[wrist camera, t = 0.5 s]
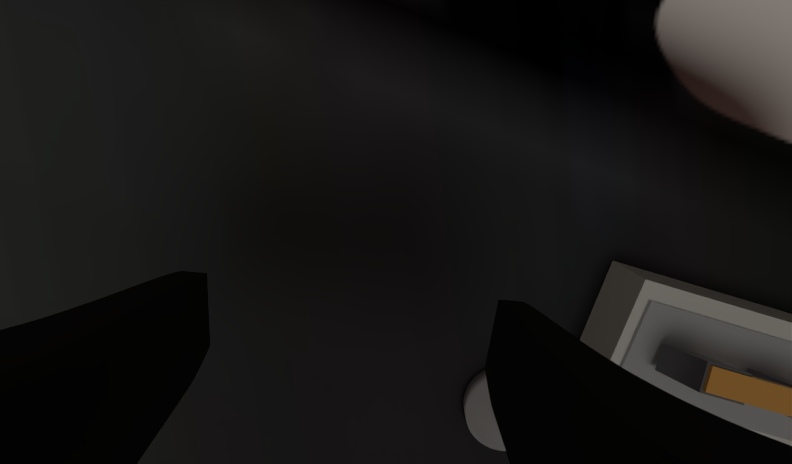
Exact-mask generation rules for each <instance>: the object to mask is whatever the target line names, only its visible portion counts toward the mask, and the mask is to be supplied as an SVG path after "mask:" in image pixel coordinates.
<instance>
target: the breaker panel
mask: <svg viewBox="0 0 792 464" xmlns="http://www.w3.org/2000/svg"><path fill="white" fill-rule="evenodd" d="M580 341H582V342H583V343H585V344H586V345H588V346H589V347H591V348H592V349H594V350H595V351H597V352H598V353H600V354H601V355H603V356H605V357H606V358H608V359H609V360H611V361H613V362H614V363H616V364H617V365H619V366H621V367H622V368H624V369H625V370H627V371H629V372H631V373H632V374H634V375H636V376H638V377H639V378H641V379H643V380H645V381H647V382H649V383H651V384H652V385H654V386H656V387H658V388H660V389H662V390H664V391H665V392H667V393H669V394H671V395H673V396H675V397H677V398H679V399H681V400H683V401H685V402H688V403H690V404H692V405H694V406H696V407H698V408H701V409H703V410H705V411H707V412H709V413H712V414H714V415H716V416H718V417H721V418H723V419H725V420H727V421H730V422H732V423H734V424H737V425H739V426H742V427H744V428H746V429H749V430H751V431H754V432H756V433H759V434H761V435H764V436H767V437H769V438H772V439H775V440H777V441H780V442H782V443H785V444H788V445H790V446H792V418H791V417H788V416H786V415H783V414H780V413H776V412H773V411H769V410H766V409H762V408H759V407H756V406H752V405H749V404H745V403H744V405H741V404H738V403H734V402H731V401H727V400H724V399H720V398H717V397H713V396H710V395H706V394H703V393H699V392H697V391H695V390H693V389H691V388H689V387H687V386H685V385H683V384H682V383H680V382H678V381H676V380H674V379H672V378H670V377H668V376H666V375H664V374H662V373H660V372H658V371H656V370H655V367H656V364H657V361H658V357H659V354H660V350H661V347H662V343H663V344H667V345H670V346H673V347H677V348H680V349H684V350H687V351H691V352H694V353H697V354H701V355H704V356H706V357H709V358H711V359H714V360H716V361H719V362H722V363H724V364H727V365H729V366H732V367H735V368H737V369H740V370H742V371H745V372H747V369H748V368H749V369H752V370H756V371H759V372H763V373H766V374H770V375H773V376H777V377H780V378H783V379H787V380H789V381H792V314H790V313H787V312H784V311H780V310H777V309H774V308H770V307H767V306H763V305H760V304H757V303H753V302H750V301H747V300H743V299H740V298H737V297H733V296H730V295H727V294H723V293H720V292H716V291H713V290H710V289H706V288H703V287H700V286H696V285H693V284H690V283H686V282H683V281H680V280H676V279H673V278H669V277H666V276H663V275H659V274H656V273H653V272H649V271H646V270H643V269H639V268H636V267H633V266H629V265H626V264H623V263H619V262H616V261H612V263H611V266H610V268H609V271H608V273H607V275H606V278H605V280H604V283H603V285H602V287H601V290H600V292H599V295H598V297H597V299H596V302H595V304H594V307H593V309H592V311H591V314H590V316H589V319H588V321H587V323H586V326H585V328H584V331H583V333H582V335H581V338H580Z"/></svg>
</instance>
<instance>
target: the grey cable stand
mask: <svg viewBox="0 0 792 464" xmlns="http://www.w3.org/2000/svg"><path fill="white" fill-rule="evenodd" d="M463 407H464V413H465V417H466V422H467V425H468V428H469V430H470V432H471V433H472V435H473V436H474V437H475V438H476V439H477V440H478V441H479V442H480V443H482V444H483V445H485V446H487V447H489V448H492V449H495V450H500V451H506V449H505V446H504V443H503V440H502V437H501V434H500V431H499V428H498V425H497V422H496V419H495V416H494V412H493V409H492V406H491V401H490V396H489V391H488V385H487V379H486V373H485V370H484V371H482V372H480V373H479V374H478V375H476V376H475V377H474V378H473V379H472V380H471V382H470V383H469V385H468V386H467V388H466V391H465V394H464V398H463Z"/></svg>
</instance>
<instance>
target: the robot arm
mask: <svg viewBox="0 0 792 464" xmlns="http://www.w3.org/2000/svg"><path fill="white" fill-rule="evenodd" d="M209 347H210V334H209V313H208V291H207V273H197V272H186V271H180V272H175V273H171V274H168V275H165V276H162V277H159V278H156V279H153V280H150V281H147V282H145V283H142V284H139V285H136V286H134V287H131V288H128V289H126V290H123V291H120V292H117V293H115V294H112V295H109V296H107V297H104V298H101V299H98V300H95V301H92V302H90V303H87V304H84V305H81V306H78V307H75V308H72V309H69V310H66V311H63V312H60V313H57V314H54V315H51V316H48V317H45V318H41V319H38V320H35V321H31V322H28V323H24V324H21V325H17V326H14V327H10V328H6V329H2V330H0V464H137V463H138V461H139V460H140V458H141V457H142V455H143V454H144V452H145V451H146V450H147V448H148V447H149V445H150V444H151V442H152V441H153V439H154V438H155V436H156V435H157V433H158V432H159V431H160V429H161V428H162V426H163V425H164V423H165V422H166V420H167V419H168V417H169V416H170V414H171V413H172V411H173V410H174V409H175V407H176V406H177V404H178V403H179V401H180V400H181V398H182V397H183V395H184V394H185V392H186V391H187V389H188V388H189V386H190V384H191V383H192V381H193V380H194V378H195V376H196V374H197V372H198V370H199V368H200V366H201V364H202V362H203V360H204V357H205V355H206V353H207V351H208V349H209ZM485 373H486V379H487V385H488V391H489V396H490V401H491V406H492V409H493V412H494V416H495V419H496V422H497V425H498V428H499V431H500V434H501V437H502V440H503V443H504V446H505V449H506V453H507V456H508V459H509V462H510V464H792V446H790V445H788V444H785V443H782V442H780V441H777V440H775V439H772V438H769V437H767V436H764V435H761V434H759V433H756V432H754V431H751V430H749V429H746V428H744V427H742V426H739V425H737V424H734V423H732V422H730V421H727V420H725V419H723V418H721V417H718V416H716V415H714V414H712V413H709V412H707V411H705V410H703V409H701V408H698V407H696V406H694V405H692V404H690V403H688V402H685V401H683V400H681V399H679V398H677V397H675V396H673V395H671V394H669V393H667V392H665V391H664V390H662V389H660V388H658V387H656V386H654V385H652V384H651V383H649V382H647V381H645V380H643V379H641V378H639V377H638V376H636V375H634V374H632V373H631V372H629V371H627V370H625V369H624V368H622V367H621V366H619V365H617V364H616V363H614V362H613V361H611V360H609V359H608V358H606V357H605V356H603V355H601V354H600V353H598V352H597V351H595V350H594V349H592V348H591V347H589V346H588V345H586V344H585V343H583V342H582V341H580V340H579V339H577V338H576V337H575V336H573V335H572V334H570V333H569V332H567V331H566V330H565V329H563V328H562V327H560V326H559V325H558V324H556V323H555V322H553V321H552V320H550V319H549V318H548V317H546V316H545V315H543V314H542V313H540V312H539V311H538V310H536V309H534V308H533V307H531V306H530V305H528V304H526V303H524V302H519V301H508V300H499V301H498V306H497V311H496V315H495V320H494V325H493V330H492V335H491V340H490V345H489V350H488V355H487V360H486V365H485Z"/></svg>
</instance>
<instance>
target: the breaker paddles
mask: <svg viewBox="0 0 792 464" xmlns="http://www.w3.org/2000/svg"><path fill="white" fill-rule="evenodd" d="M655 370H656V371H658V372H660V373H662V374H664V375H666V376H668V377H670V378H672V379H674V380H676V381H678V382H680V383H682V384H683V385H685V386H687V387H689V388H691V389H693V390H695V391H697V392H699V393H703V394H706V395H710V396H713V397H717V398H720V399H724V400H727V401H731V402H734V403H738V404H741V405H744V403H745V404H749V405H752V406H756V407H759V408H762V409H766V410H769V411H773V412H776V413H780V414H783V415H786V416H788V417H791V418H792V381H789V380H787V379H783V378H780V377H777V376H773V375H770V374H766V373H763V372H759V371H756V370H752V369H749V368H748V369H747V372H745V371H742V370H740V369H737V368H735V367H732V366H729V365H727V364H724V363H722V362H719V361H716V360H714V359H711V358H709V357H706V356H704V355H701V354H697V353H694V352H691V351H687V350H684V349H680V348H677V347H673V346H670V345H667V344H663V343H662V347H661V350H660V354H659V357H658V361H657V364H656V367H655Z"/></svg>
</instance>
